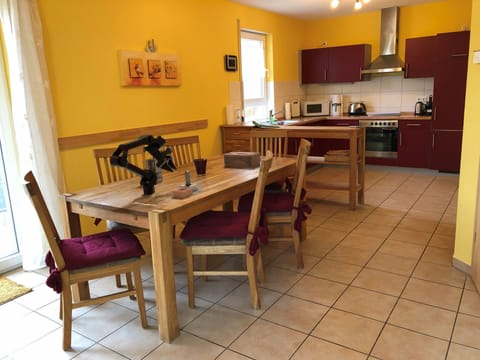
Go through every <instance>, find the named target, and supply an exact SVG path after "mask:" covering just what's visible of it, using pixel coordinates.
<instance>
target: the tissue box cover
mask: <svg viewBox="0 0 480 360" xmlns="http://www.w3.org/2000/svg"><path fill="white" fill-rule="evenodd" d="M261 159H262V157H261V152H253V151H251V152H249V151H248V152H247V151H246V152H245V151H231V152H228V153H225V154H223V164H224V167H227V166H230V167H229V168H247V169H248V168H249V169H253V168H256V167H259V166H261V165H260V162H261V163H262V161H261Z"/></svg>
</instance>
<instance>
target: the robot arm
mask: <svg viewBox="0 0 480 360" xmlns="http://www.w3.org/2000/svg"><path fill="white" fill-rule="evenodd" d="M166 144H167V142H166V139H165V138H163V137H162V135H157V136H156V137H154V135H153V134H142V135H140V136H139V137H138V138H136V139H134V140H130V141H128V142H124V143H120V144H119V145H118V146H117V148H116V150H114V152H113V153H112V154H111V157H109V163H110V166H112V167H116V168H121V169H124V170H126V171H128V172H130V173H132V174H135V175H136V176H139V177H140V180H139V185H140V186H142V190H143V194H142V196H151V195H154V194H155V193H156V191H155V190H156V188H155V186H157V184H158V183H157V174H156V173H155V172H153V171H152V170H148V169H146V168H145V169H144V168H141V167H140V166H136V165H135V164H133V163H132V162H129V160H128V157H129V151H130V150H133V149H136V148H138V147H141V146H143V147H142V152H143V153H144V154H145V153H146V152H147V153H148V154H149V155H150V156H151V158H153V159H156V160H157V161H158V162H157V163H156V166H157V167H158V168H160V169H162V170H163V171H166V172H170V173H174V170H175V171H177V169H178V168H177V166H176V165H175V163H174V162H173V156H172V155H171V154H173V153H174V150H173V148H172V147H170V146H167V147H166V148H165V150H162V148H163V147H164V146H165V145H166ZM121 154H122V155H121ZM160 166H161V167H160Z"/></svg>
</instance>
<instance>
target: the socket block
mask: <svg viewBox="0 0 480 360" xmlns="http://www.w3.org/2000/svg"><path fill="white" fill-rule="evenodd" d="M178 188H192V192H193V191H195V190H198V189H199V185H198V183H192V182H191V185H190V186H186V183H183V184H180V185H179V186H178Z"/></svg>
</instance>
